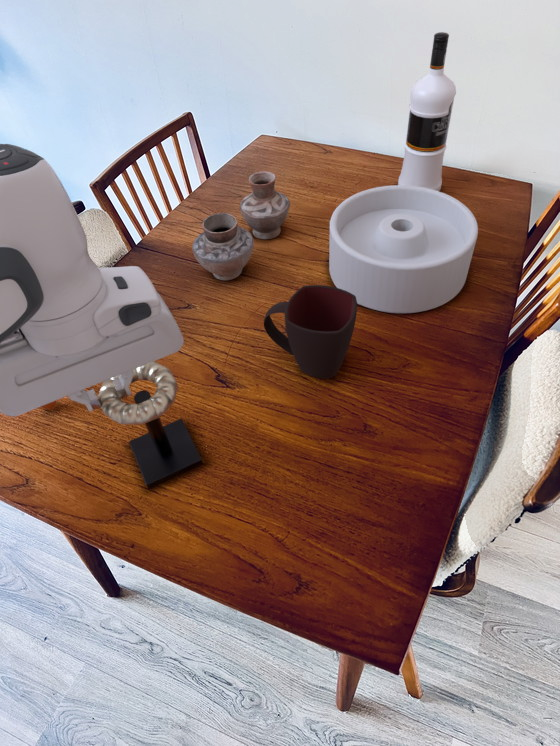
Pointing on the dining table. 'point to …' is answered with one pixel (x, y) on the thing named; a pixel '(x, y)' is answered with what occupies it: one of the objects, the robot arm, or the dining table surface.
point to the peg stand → (163, 449)
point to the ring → (143, 410)
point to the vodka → (429, 122)
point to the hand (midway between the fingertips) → (109, 399)
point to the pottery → (241, 229)
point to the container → (401, 247)
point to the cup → (316, 328)
